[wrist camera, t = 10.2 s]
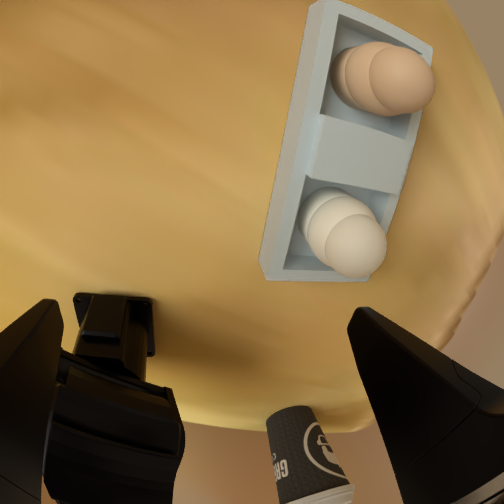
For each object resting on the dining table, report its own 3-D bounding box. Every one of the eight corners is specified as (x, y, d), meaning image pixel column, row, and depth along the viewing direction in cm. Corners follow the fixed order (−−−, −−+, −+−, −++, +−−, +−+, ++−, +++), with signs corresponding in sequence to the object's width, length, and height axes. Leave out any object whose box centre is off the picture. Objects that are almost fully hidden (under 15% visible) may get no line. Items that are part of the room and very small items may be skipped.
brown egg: (381, 119, 17) (444, 137, 12) (322, 100, 16) (379, 109, 11) (392, 59, 15) (458, 61, 10) (334, 35, 14) (394, 21, 9)
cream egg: (362, 190, 20) (415, 228, 15) (344, 246, 22) (386, 296, 17) (304, 180, 19) (349, 219, 13) (289, 242, 21) (322, 297, 16)
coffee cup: (269, 400, 32) (303, 513, 20) (334, 397, 35) (375, 490, 23) (245, 434, 36) (268, 526, 24) (303, 430, 39) (333, 511, 27)
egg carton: (353, 264, 24) (372, 287, 21) (258, 259, 22) (269, 287, 19) (409, 48, 15) (441, 48, 12) (309, 6, 13) (332, -8, 10)
